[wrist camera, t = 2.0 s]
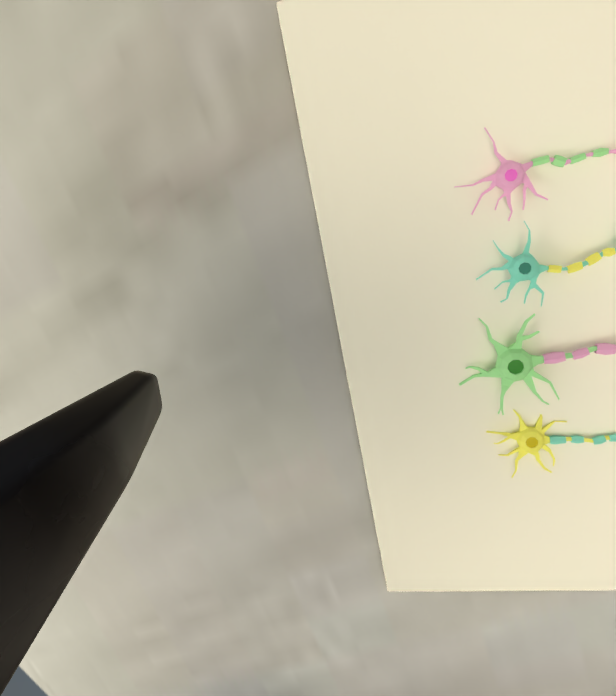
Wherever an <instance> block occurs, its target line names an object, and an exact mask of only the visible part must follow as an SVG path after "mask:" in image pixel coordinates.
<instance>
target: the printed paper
mask: <svg viewBox="0 0 616 696" xmlns="http://www.w3.org/2000/svg"><path fill="white" fill-rule="evenodd" d="M276 5H277V10H278V15H279V21H280V26H281V31H282V36H283V42H284V47H285V52H286V58H287V63H288V68H289V73H290V79H291V84H292V89H293V95H294V100H295V105H296V110H297V116H298V121H299V126H300V132H301V137H302V142H303V147H304V153H305V158H306V163H307V168H308V174H309V179H310V184H311V190H312V195H313V200H314V205H315V211H316V216H317V221H318V227H319V232H320V237H321V242H322V248H323V253H324V258H325V264H326V269H327V274H328V279H329V285H330V290H331V295H332V300H333V306H334V311H335V316H336V322H337V327H338V332H339V337H340V343H341V348H342V353H343V359H344V364H345V369H346V374H347V380H348V385H349V390H350V395H351V401H352V406H353V411H354V417H355V422H356V427H357V432H358V438H359V443H360V448H361V454H362V459H363V464H364V469H365V475H366V480H367V485H368V491H369V496H370V501H371V506H372V512H373V517H374V522H375V527H376V533H377V538H378V543H379V549H380V554H381V559H382V564H383V570H384V575H385V580H386V586H387V591H388V592H446V591H584V590H616V0H283V1H280V2H277V3H276Z"/></svg>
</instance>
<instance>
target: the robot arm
mask: <svg viewBox="0 0 616 696" xmlns="http://www.w3.org/2000/svg"><path fill="white" fill-rule="evenodd" d="M161 409H162V401H161V396H160V390H159V385H158V380H157V377H156V376H155V375H153V374H151V373H146V372H142V371H133V372H131V373H129V374H127V375H125V376H123V377H121V378H120V379H118V380H116V381H114V382H112V383H110V384H108V385H106V386H104V387H103V388H101V389H99V390H97V391H95V392H93V393H91V394H89V395H87V396H86V397H84V398H82V399H80V400H78V401H76V402H74V403H72V404H70V405H69V406H67V407H65V408H63V409H61V410H59V411H57V412H55V413H53V414H52V415H50V416H48V417H46V418H44V419H42V420H40V421H38V422H36V423H35V424H33V425H31V426H29V427H27V428H25V429H23V430H21V431H19V432H18V433H16V434H14V435H12V436H10V437H8V438H6V439H4V440H2V441H0V695H1V694H2V693H3V691H4V689H5V687H6V686H7V684H8V682H9V681H10V679H11V678H12V676H13V674H14V672H15V671H16V669H17V668H18V666H19V664H20V663H21V661H22V659H23V658H24V656H25V654H26V653H27V651H28V649H29V648H30V646H31V644H32V643H33V641H34V639H35V638H36V636H37V634H38V633H39V631H40V629H41V628H42V626H43V624H44V623H45V621H46V619H47V618H48V616H49V614H50V613H51V611H52V609H53V608H54V606H55V604H56V603H57V601H58V599H59V598H60V596H61V594H62V593H63V591H64V589H65V588H66V586H67V584H68V583H69V581H70V579H71V578H72V576H73V574H74V573H75V571H76V569H77V568H78V566H79V564H80V563H81V561H82V559H83V558H84V556H85V554H86V553H87V551H88V549H89V548H90V546H91V544H92V543H93V541H94V539H95V538H96V536H97V534H98V533H99V531H100V529H101V528H102V526H103V524H104V523H105V521H106V519H107V518H108V516H109V514H110V513H111V511H112V509H113V508H114V506H115V504H116V503H117V501H118V499H119V498H120V496H121V494H122V493H123V491H124V489H125V487H126V486H127V484H128V482H129V480H130V478H131V476H132V474H133V472H134V470H135V468H136V466H137V464H138V461H139V459H140V457H141V455H142V453H143V451H144V448H145V446H146V444H147V442H148V440H149V437H150V435H151V433H152V431H153V429H154V427H155V424H156V422H157V420H158V418H159V416H160V413H161Z"/></svg>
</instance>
